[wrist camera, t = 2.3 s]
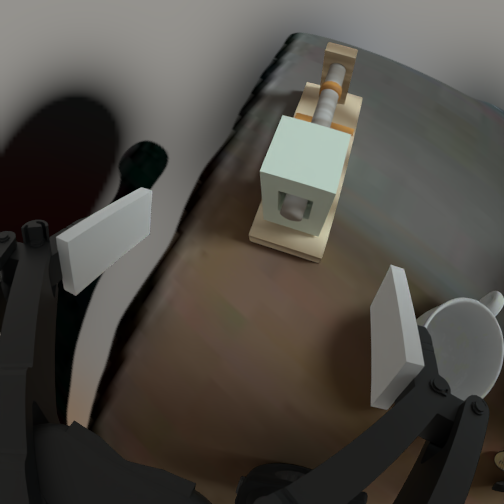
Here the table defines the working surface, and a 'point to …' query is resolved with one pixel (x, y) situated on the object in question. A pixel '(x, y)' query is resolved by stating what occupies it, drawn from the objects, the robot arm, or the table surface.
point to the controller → (274, 482)
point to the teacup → (467, 343)
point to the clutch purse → (503, 463)
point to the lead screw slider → (325, 114)
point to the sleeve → (302, 171)
